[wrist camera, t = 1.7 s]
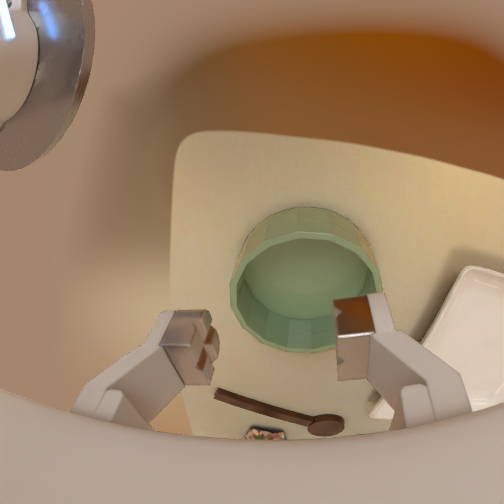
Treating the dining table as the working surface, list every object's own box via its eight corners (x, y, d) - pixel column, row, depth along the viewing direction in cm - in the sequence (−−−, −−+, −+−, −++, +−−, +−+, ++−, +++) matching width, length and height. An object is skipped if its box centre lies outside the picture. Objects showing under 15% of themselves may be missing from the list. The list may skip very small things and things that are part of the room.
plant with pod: (236, 444, 53) (218, 534, 36) (252, 421, 47) (233, 529, 30) (276, 452, 53) (264, 540, 36) (297, 430, 48) (287, 536, 30)
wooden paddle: (210, 399, 45) (209, 405, 44) (223, 381, 42) (221, 387, 41) (330, 433, 47) (330, 438, 46) (351, 418, 44) (351, 424, 43)
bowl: (221, 291, 34) (210, 323, 29) (273, 182, 27) (268, 203, 23) (328, 334, 35) (330, 367, 31) (397, 244, 28) (411, 273, 24)
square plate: (451, 245, 27) (466, 266, 24) (575, 280, 26) (588, 296, 22) (363, 401, 41) (365, 422, 38) (489, 399, 40) (495, 416, 37)
